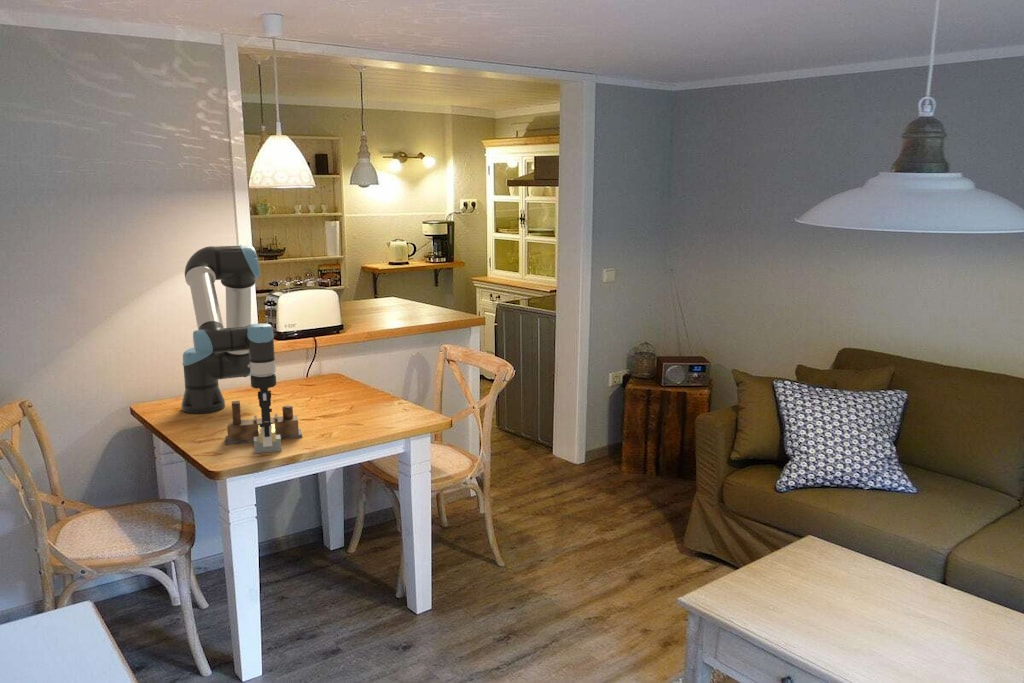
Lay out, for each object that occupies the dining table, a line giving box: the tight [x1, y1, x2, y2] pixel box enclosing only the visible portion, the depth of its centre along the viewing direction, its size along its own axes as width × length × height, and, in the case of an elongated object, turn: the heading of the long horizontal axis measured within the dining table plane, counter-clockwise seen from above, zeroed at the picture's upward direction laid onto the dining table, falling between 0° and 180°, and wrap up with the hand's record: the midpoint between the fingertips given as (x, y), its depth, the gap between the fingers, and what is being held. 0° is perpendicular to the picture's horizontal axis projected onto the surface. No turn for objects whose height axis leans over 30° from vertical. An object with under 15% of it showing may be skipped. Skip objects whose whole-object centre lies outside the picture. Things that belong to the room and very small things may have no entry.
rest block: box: [253, 435, 282, 454], centre depth 241 cm, size 4×8×4 cm, turn 109°
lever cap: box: [258, 424, 276, 443], centre depth 240 cm, size 5×9×4 cm, turn 19°
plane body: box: [224, 400, 303, 446], centre depth 251 cm, size 24×6×13 cm, turn 109°
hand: (267, 439), depth 240 cm, fingers open, 13 cm apart
